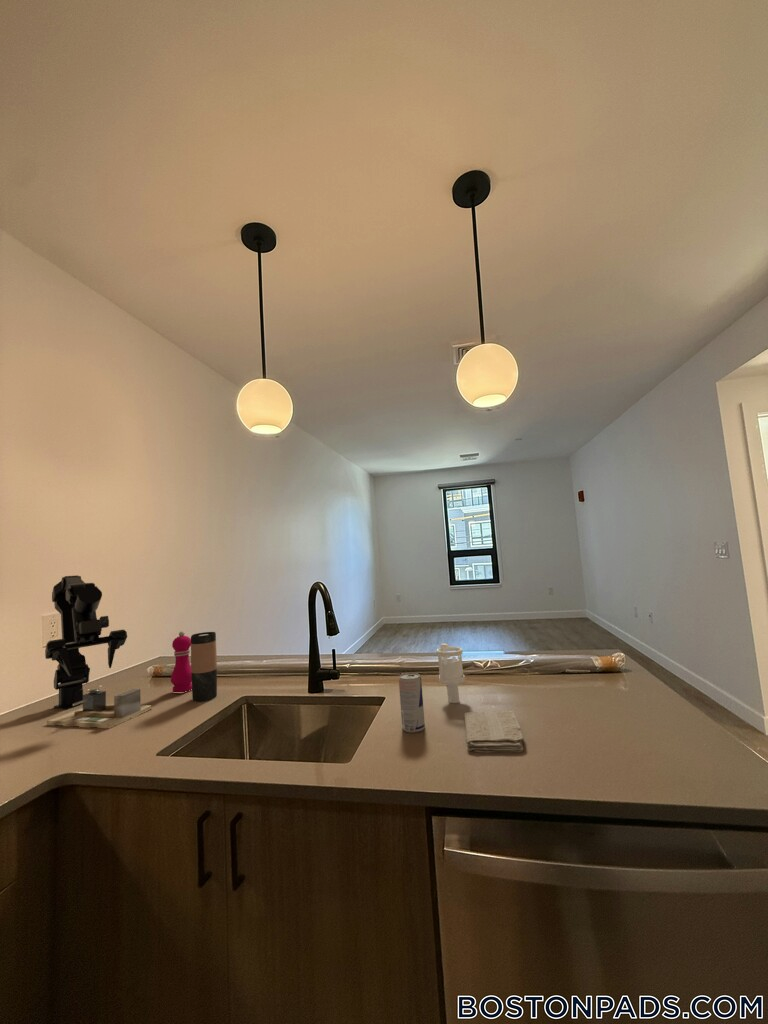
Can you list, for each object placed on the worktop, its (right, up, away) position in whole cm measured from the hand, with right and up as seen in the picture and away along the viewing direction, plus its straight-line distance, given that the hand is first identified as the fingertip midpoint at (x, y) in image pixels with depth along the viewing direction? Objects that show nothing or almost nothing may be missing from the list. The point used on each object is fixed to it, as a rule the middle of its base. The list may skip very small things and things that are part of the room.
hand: (91, 671), depth 117 cm
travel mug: (+24, -15, +18) cm, 34 cm away
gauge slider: (-5, -14, +5) cm, 16 cm away
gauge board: (-2, -16, +6) cm, 17 cm away
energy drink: (+88, -7, -18) cm, 90 cm away
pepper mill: (+13, -17, +27) cm, 35 cm away
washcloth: (+105, -6, -24) cm, 108 cm away
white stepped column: (+100, -8, -2) cm, 101 cm away
